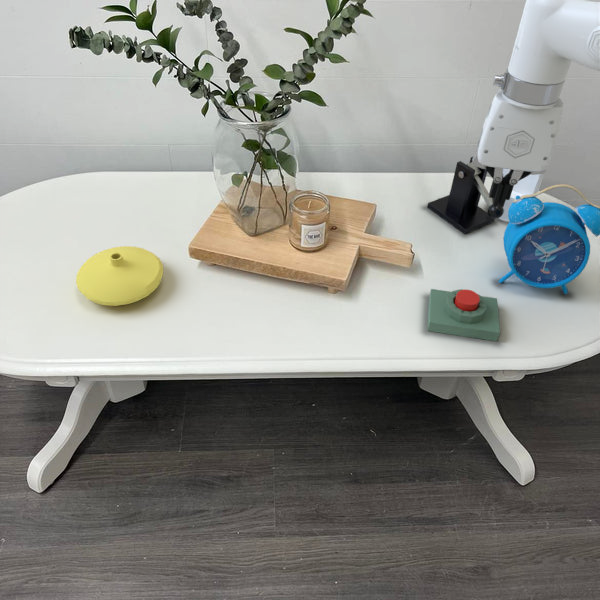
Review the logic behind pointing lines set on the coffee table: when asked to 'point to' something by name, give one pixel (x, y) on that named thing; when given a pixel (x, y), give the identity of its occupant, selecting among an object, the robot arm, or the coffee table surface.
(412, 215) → the coffee table surface
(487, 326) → the button box
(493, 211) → the lever
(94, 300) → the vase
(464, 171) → the bracket
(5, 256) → the coffee table surface
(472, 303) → the button
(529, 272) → the alarm clock
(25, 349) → the coffee table surface
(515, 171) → the robot arm
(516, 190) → the base with upright slab
